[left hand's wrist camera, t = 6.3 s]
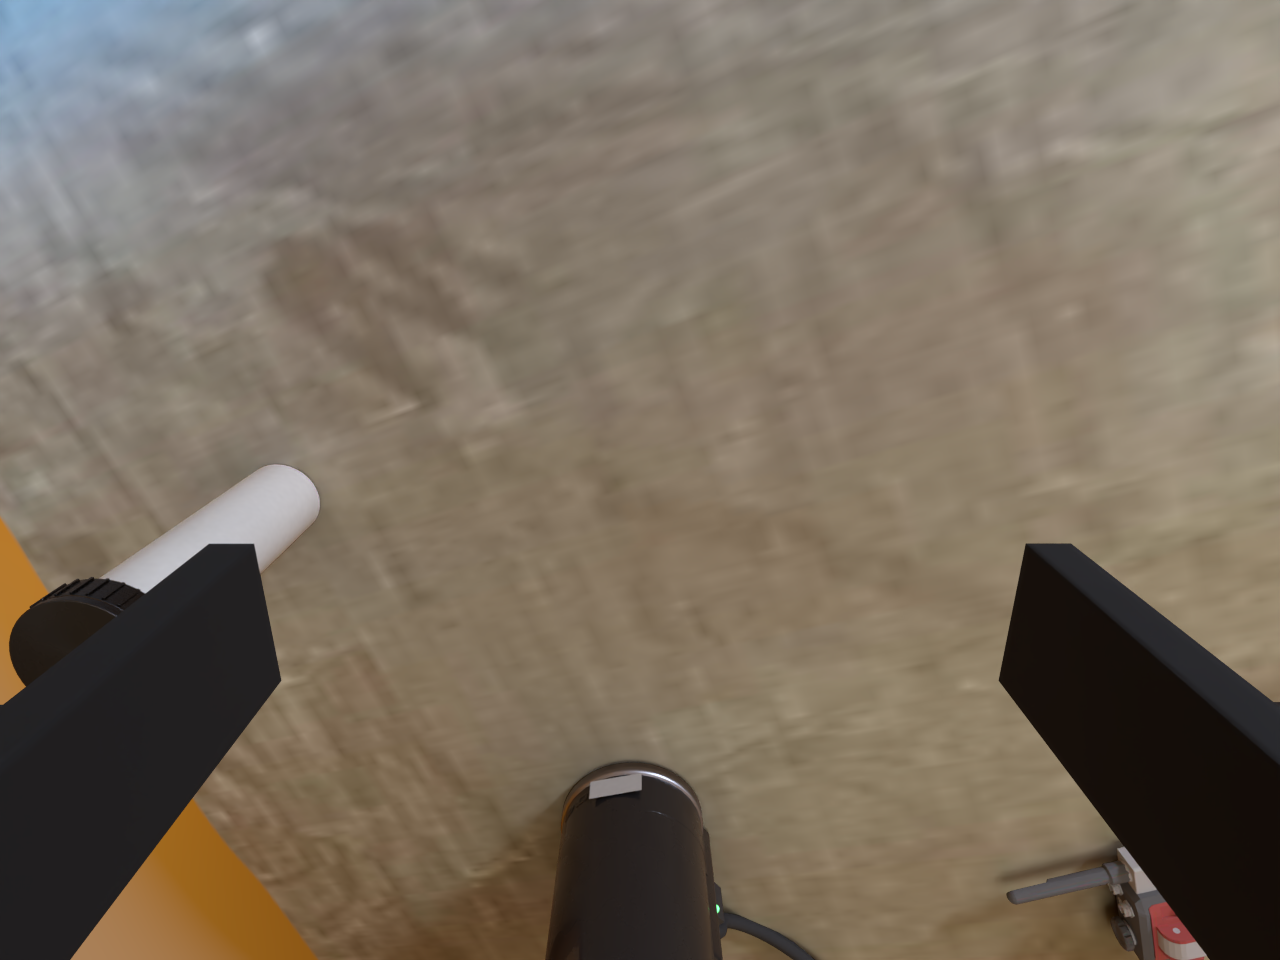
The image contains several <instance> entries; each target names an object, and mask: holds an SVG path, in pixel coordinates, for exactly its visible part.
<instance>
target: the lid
mask: <svg viewBox="0 0 1280 960" xmlns="http://www.w3.org/2000/svg"><path fill="white" fill-rule="evenodd" d="M144 594H145V593H144V592H142V591H140V589H137V588H134V587H132V586H130V585H127V584H125V583H124V582H122V583H121V582H118V581H114V580H110V579H109V578H106V579H94V577H91V578H89V579H85V580H79V579H76V580H74V581H73V582H71V583H70V584H68V585H67V584H66V583H65V584H63V585H61V586H60V587H58V588H57V589H55V590H54V591H52V592H51V593H49V594H48V595H46V596H45V597H43V598H42V599H40V600H39V601H37V602H36V603H34V604H33V605H31V606H30V609H29V610H27V611H26V612H25V613H24V614H23V615H21V617H20V618H19V619H18V620H17V621H16V623H15V625H14V627H13V629H12V632H11V635H10V641H9V652H10V657H11V661H12V664H13V667H14V669H15V671H16V673H17V675H18V676H19V678H20V679H21V681H22V682H23V683H24V685H25V686H26V687H27V686H28V685H29V684H30V683H32V682H33V681H34V680H36V679H37V678H38V677H39V676H41V675H42V674H43V673H44V672H46V671H47V670H48V669H50V668H51V667H52V666H53V665H55V664H56V663H57V662H59V661H60V660H61V659H62V658H64V657H65V656H66V655H67V654H69V653H70V652H71V651H73V650H74V649H75V648H76V647H78V646H79V645H80V644H82V643H83V642H84V641H85V640H87V639H88V638H89V637H90V636H92V635H93V634H94V633H96V632H97V631H98V630H99V629H101V628H102V627H103V626H105V625H106V624H107V623H108V622H110V621H111V620H112V619H113V618H115V617H116V616H117V615H119V614H120V613H121V612H122V611H124V610H125V609H126V608H128V607H129V606H130V605H131V604H133V603H134V602H135V601H136V600H138V599H139V598H140V597H142V596H143V595H144Z"/></svg>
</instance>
